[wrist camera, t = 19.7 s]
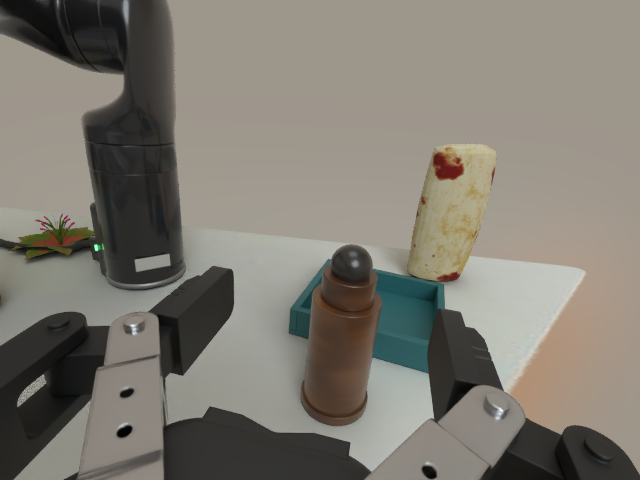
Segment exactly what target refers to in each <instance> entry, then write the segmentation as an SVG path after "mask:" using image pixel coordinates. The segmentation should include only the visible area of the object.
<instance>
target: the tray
mask: <svg viewBox="0 0 640 480" xmlns="http://www.w3.org/2000/svg"><path fill="white" fill-rule="evenodd" d="M330 263H331V260H330V259H328V260H327V261H326V263H325V264H324V265H323V267H322V268H321V269H320V271H319V272H318V273H317V275H316V276H315V277H314V278H313V280H312V281H311V282H310V284H309V285H308V286H307V288H306V289H305V290H304V292H303V293H302V294H301V296H300V297H299V298H298V300H297V301H296V302H295V304H294V305H293V306H292V308H291V309H290V324H289V333H291V334H295V335H298V336H302V337H305V338H308V337H309V326H310V315H311V304H312V293H313V291H314V289H315V288H316V287H317V286H318V285H320V284H321V283H322V274H323V269H324V267H325V266H326V265H328V264H330ZM373 270H374V271H375V272H376V274H377V276H378V281H377V287H376V292H377V293H378V294H379V296H380V297H381V300H382V307H381V313H380V318H379V324H378V329H377V335H376V340H375V346H374V351H373V356H372V357H375V358H378V359H382V360H385V361H388V362H392V363H395V364H399V365H402V366H406V367H409V368H413V369H416V370H420V371H423V372H427V373H429V370H428V362H427V350H428V344H429V339H430V336H431V332H432V328H433V324H434V320H435V316H436V313H437V310H438V309H439V308H442V309H445V299H444V284H440V283H436V282H431V281H427V280H422V279H417V278H413V277H408V276H404V275H399V274H395V273H390V272H385V271H381V270H376V269H373Z"/></svg>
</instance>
